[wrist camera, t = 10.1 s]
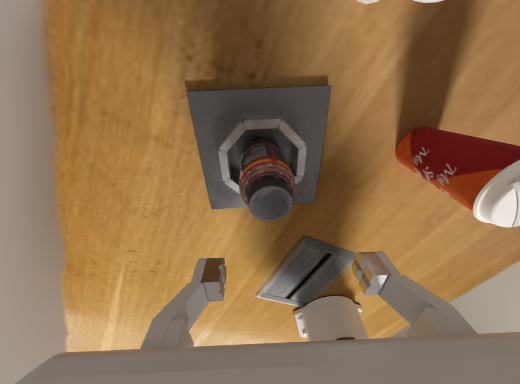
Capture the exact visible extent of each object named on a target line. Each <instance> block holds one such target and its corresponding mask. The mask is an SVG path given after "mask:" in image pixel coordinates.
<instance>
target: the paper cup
mask: <svg viewBox="0 0 520 384" xmlns="http://www.w3.org/2000/svg"><path fill="white" fill-rule="evenodd" d="M396 157H397V159H398V160H399V161H400V162H401V163H402V164H403V165H405V166H406V167H408V168H409V169H411V170H412V171H413V172H415V173H416V174H418V175H419V176H421V177H422V178H424V179H425V180H427V181H428V182H430V183H431V184H433V185H434V186H435V187H437V188H438V189H440V190H441V191H443V192H444V193H446V194H447V195H449V196H450V197H452V198H453V199H455V200H456V201H458V202H459V203H461V204H462V205H464V206H465V207H467V208H468V209H470V210H471V211H473V214H474V216H475V217H476V218H477V219H478V220H480V221H482V222H487V223H493V224H495V225H498V226H502V227H515V226H520V146H516V145H512V144H507V143H502V142H497V141H492V140H487V139H482V138H478V137H473V136H468V135H463V134H458V133H453V132H448V131H443V130H438V129H432V128H417V129H415V130H413V131H411V132H409V133H408V134H406V135H405V136H404V137H403V138H402V140H401V141H400V142H399V144H398V146H397V149H396Z"/></svg>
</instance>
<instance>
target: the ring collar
mask: <svg viewBox="0 0 520 384" xmlns="http://www.w3.org/2000/svg"><path fill="white" fill-rule="evenodd" d="M330 92H331V86H330V85H324V86H300V87H277V88H253V89H229V90H205V91H188V92H187V96H188V100H189V105H190V110H191V115H192V119H193V124H194V129H195V133H196V138H197V143H198V147H199V152H200V157H201V161H202V166H203V171H204V176H205V180H206V185H207V190H208V194H209V199H210V204H211V208H212V209H224V208H240V207H248V206H247V205H246V204H245V203H244V201H243V200H242V198H241V195H240V190H239V181H240V164H241V155H242V152H243V150H244V148H245V147H246V146H247V145H248V144H249V143H250V142H252V141H254V140H257V139H268V140H271V141H273V142H275V143H276V144H277V145H278V146H279V147H280V148H281V150H282V152H283V154H284V156H285V158H286V160H287V162H288V164H289V167H290V169H291V171H292V173H293V175H294V178H295V183H296V189H295V193H294V196H293V198H292V204H306V203H314V202H315V195H316V188H317V181H318V174H319V168H320V161H321V154H322V147H323V140H324V133H325V127H326V120H327V113H328V106H329V99H330Z"/></svg>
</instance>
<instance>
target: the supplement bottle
mask: <svg viewBox="0 0 520 384" xmlns="http://www.w3.org/2000/svg"><path fill="white" fill-rule="evenodd" d="M295 189H296V183H295V178H294V175H293V173H292V171H291V169H290V167H289V164H288V162H287V160H286V158H285V156H284V154H283V152H282V150H281V148H280V147H279V146H278V145H277V144H276V143H275V142H273V141H271V140H268V139H257V140H254V141H252V142H250V143H249V144H248V145H247V146H246V147H245V148H244V150H243V152H242V155H241V164H240V181H239V190H240V195H241V198H242V200H243V201H244V203H245V204H246V205H247V206H248V207H249V208H250V211H251V213H252V214H253V215H254V216H255V217H256V218H258V219H260V220H262V221H276V220H279V219H281V218H282V217H284V216H285V215H287V213H288V212H289V211H290V209H291V207H292V198H293V196H294V193H295Z"/></svg>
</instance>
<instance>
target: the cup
mask: <svg viewBox="0 0 520 384" xmlns="http://www.w3.org/2000/svg"><path fill="white" fill-rule="evenodd" d="M356 1H357V2H361V3H364V4H369V3H373V2H377V1H379V0H356ZM414 1H418V2H422V3H433V2H439V1H443V0H414Z"/></svg>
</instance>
